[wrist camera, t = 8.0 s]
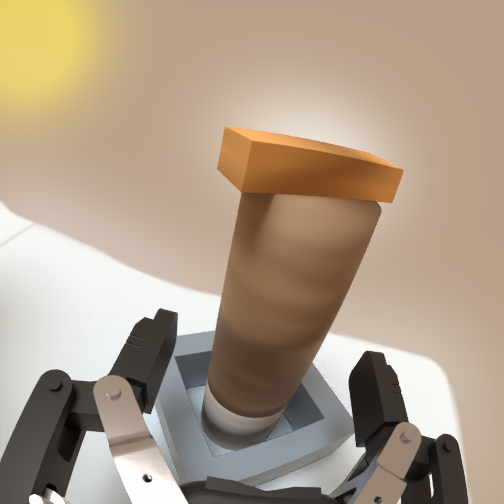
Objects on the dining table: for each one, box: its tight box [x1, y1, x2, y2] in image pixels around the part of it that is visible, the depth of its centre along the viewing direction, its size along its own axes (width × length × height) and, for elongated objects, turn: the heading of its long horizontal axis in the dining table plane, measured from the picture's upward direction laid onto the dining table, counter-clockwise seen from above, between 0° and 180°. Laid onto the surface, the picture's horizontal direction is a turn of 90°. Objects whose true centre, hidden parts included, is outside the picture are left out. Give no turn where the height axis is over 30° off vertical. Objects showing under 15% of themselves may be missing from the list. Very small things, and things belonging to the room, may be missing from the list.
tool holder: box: [154, 331, 355, 487], centre depth 17 cm, size 10×10×4 cm
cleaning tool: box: [201, 127, 403, 451], centre depth 14 cm, size 6×5×17 cm
